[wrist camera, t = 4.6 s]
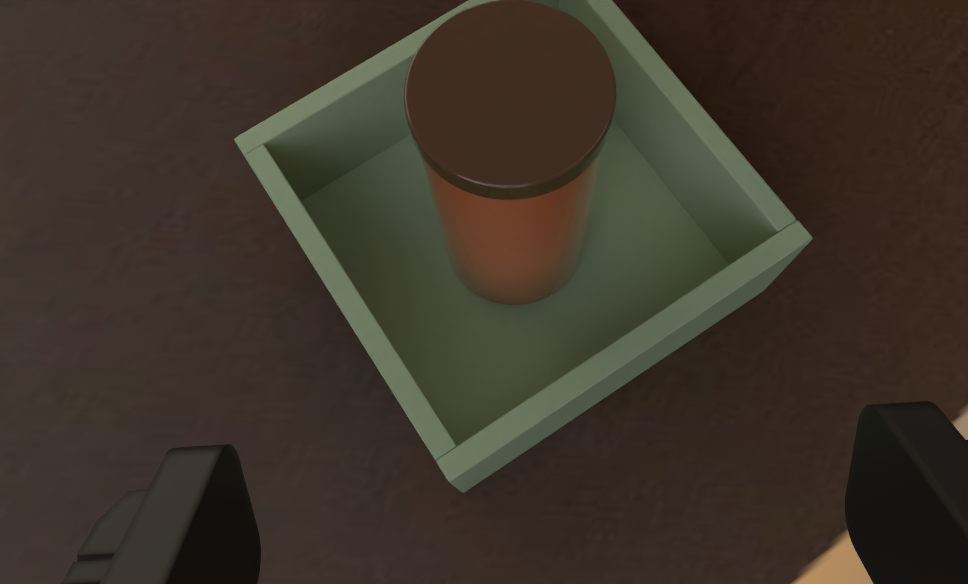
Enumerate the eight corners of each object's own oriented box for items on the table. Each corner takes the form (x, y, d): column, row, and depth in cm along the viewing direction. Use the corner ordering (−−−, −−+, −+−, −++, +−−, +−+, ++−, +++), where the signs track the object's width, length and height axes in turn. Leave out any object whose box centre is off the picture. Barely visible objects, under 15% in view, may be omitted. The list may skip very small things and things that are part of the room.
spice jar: (615, 257, 29) (660, 113, 19) (494, 336, 28) (478, 228, 18) (533, 148, 30) (537, -37, 20) (416, 221, 29) (363, 65, 20)
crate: (764, 290, 29) (814, 237, 24) (462, 493, 27) (448, 482, 22) (558, 34, 32) (565, -58, 27) (279, 203, 31) (232, 138, 26)
